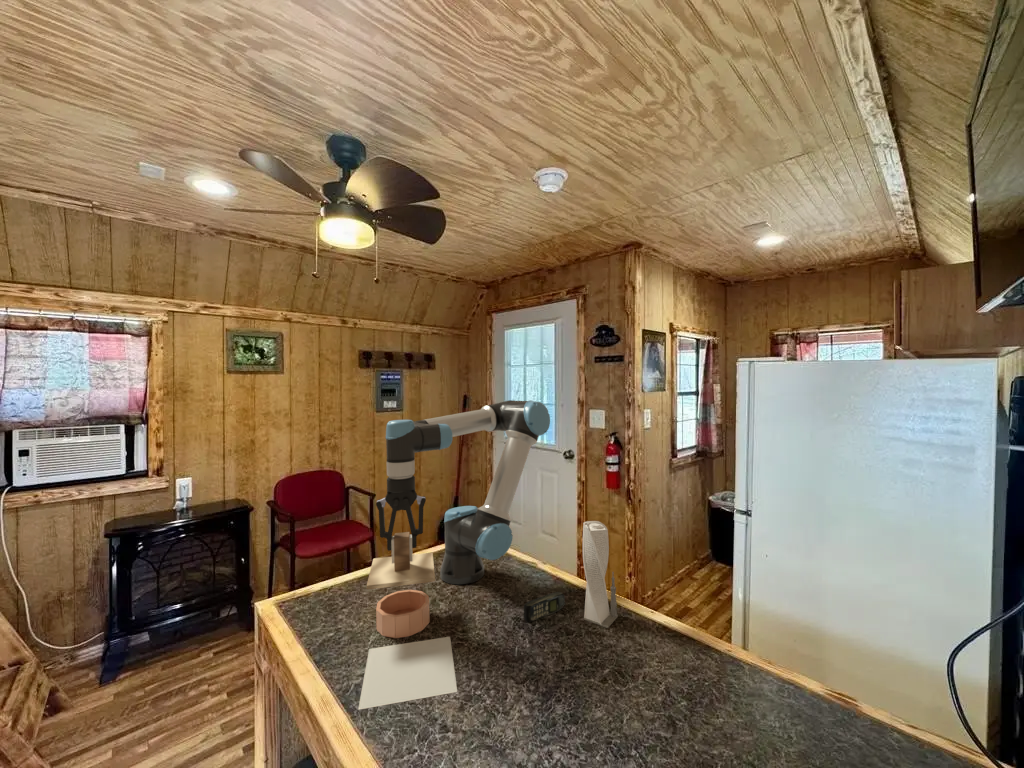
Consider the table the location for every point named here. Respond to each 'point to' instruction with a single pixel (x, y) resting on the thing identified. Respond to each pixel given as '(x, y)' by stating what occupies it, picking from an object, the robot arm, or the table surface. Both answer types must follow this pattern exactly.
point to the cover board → (401, 577)
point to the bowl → (402, 613)
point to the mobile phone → (543, 606)
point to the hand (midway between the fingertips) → (402, 560)
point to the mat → (408, 672)
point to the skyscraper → (597, 575)
